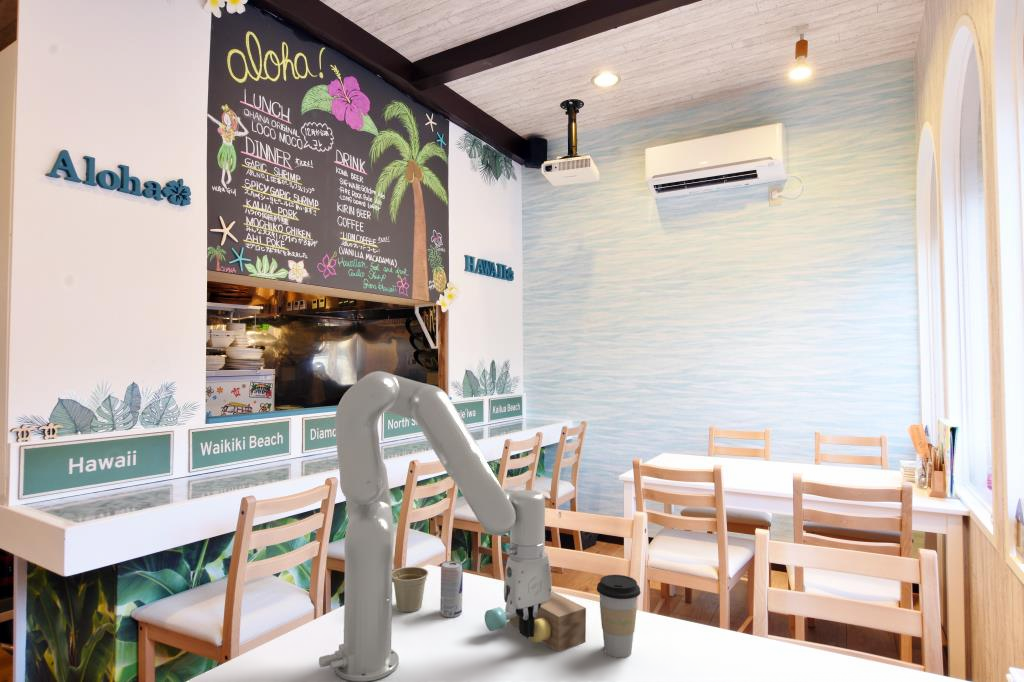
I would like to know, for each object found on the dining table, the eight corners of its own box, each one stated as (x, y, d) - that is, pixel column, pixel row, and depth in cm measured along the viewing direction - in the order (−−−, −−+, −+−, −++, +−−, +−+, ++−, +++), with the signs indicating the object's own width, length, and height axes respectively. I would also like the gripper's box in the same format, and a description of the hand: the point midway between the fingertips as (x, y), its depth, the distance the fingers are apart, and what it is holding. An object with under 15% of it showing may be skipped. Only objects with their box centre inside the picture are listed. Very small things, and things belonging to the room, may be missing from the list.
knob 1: (495, 634, 134) (495, 614, 134) (484, 626, 137) (484, 607, 137) (533, 621, 140) (534, 602, 140) (522, 615, 144) (522, 596, 144)
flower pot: (382, 612, 148) (383, 577, 148) (400, 598, 157) (401, 564, 157) (417, 618, 145) (418, 582, 145) (433, 602, 154) (434, 569, 154)
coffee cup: (607, 664, 124) (607, 591, 125) (589, 643, 134) (590, 575, 134) (648, 658, 127) (648, 587, 127) (627, 638, 136) (628, 571, 136)
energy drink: (463, 609, 150) (464, 561, 151) (459, 618, 145) (460, 568, 145) (442, 608, 151) (443, 560, 151) (438, 617, 146) (438, 567, 146)
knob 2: (539, 646, 129) (540, 625, 129) (527, 638, 132) (527, 618, 132) (577, 632, 135) (577, 612, 135) (564, 625, 139) (564, 606, 139)
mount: (558, 651, 129) (558, 616, 130) (509, 621, 144) (509, 590, 144) (585, 641, 134) (585, 608, 134) (535, 613, 149) (535, 583, 149)
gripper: (509, 561, 122) (508, 652, 122) (564, 547, 131) (564, 632, 131) (489, 551, 128) (488, 637, 128) (543, 539, 137) (542, 620, 137)
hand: (526, 635), depth 129 cm, fingers closed
